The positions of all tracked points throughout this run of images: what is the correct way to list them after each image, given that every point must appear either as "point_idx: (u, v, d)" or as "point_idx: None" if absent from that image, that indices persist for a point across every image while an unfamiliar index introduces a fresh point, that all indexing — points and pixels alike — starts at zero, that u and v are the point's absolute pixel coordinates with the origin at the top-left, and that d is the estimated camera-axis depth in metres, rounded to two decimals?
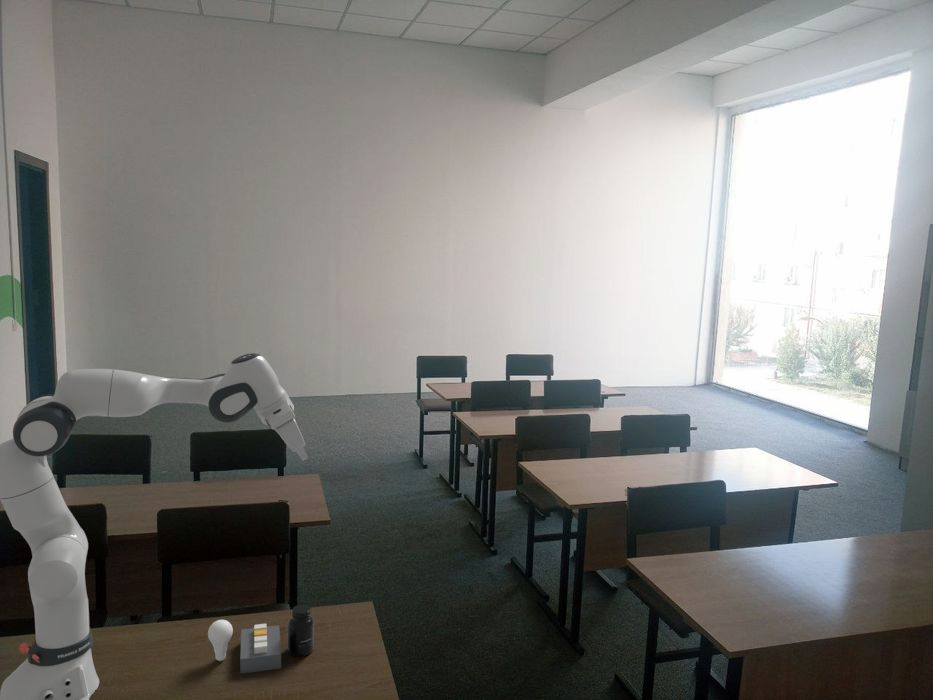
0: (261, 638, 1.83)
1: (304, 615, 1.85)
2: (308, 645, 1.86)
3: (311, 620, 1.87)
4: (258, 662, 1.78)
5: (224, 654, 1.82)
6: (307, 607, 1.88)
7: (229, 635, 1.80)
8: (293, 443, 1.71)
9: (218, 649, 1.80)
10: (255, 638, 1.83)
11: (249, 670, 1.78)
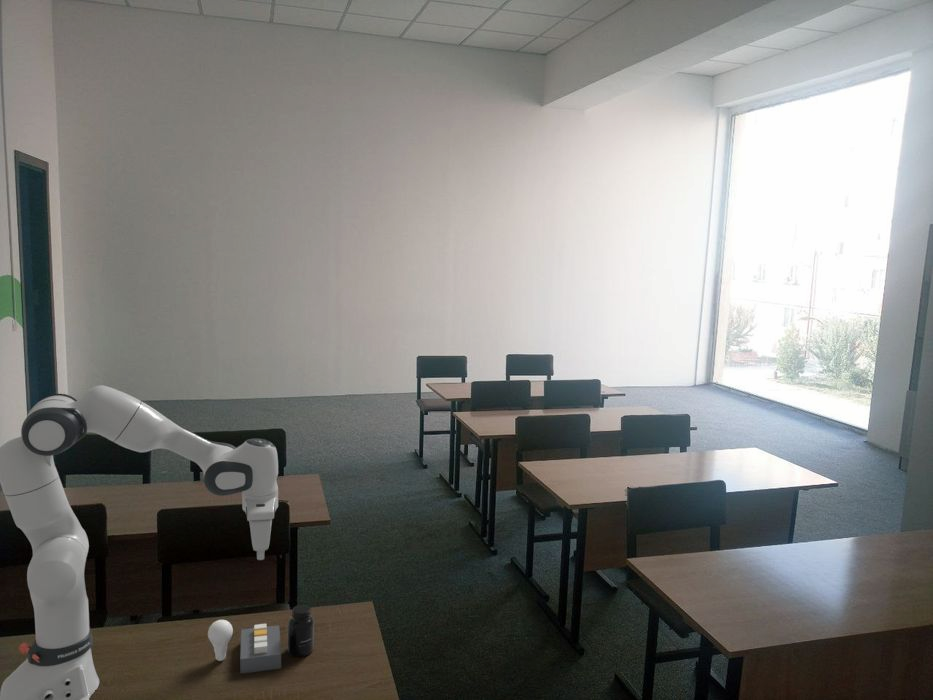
0: (261, 638, 1.83)
1: (304, 615, 1.85)
2: (308, 645, 1.86)
3: (311, 620, 1.87)
4: (258, 662, 1.78)
5: (224, 654, 1.82)
6: (307, 607, 1.88)
7: (229, 635, 1.80)
8: (258, 543, 1.70)
9: (218, 649, 1.80)
10: (255, 638, 1.83)
11: (249, 670, 1.78)
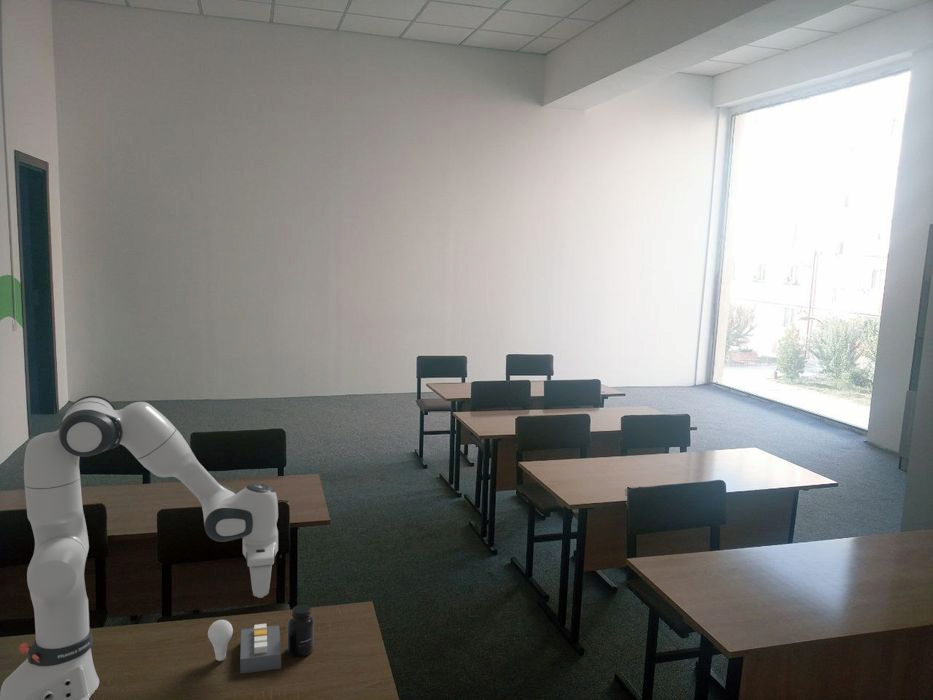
0: (261, 638, 1.83)
1: (304, 615, 1.85)
2: (308, 645, 1.86)
3: (311, 620, 1.87)
4: (258, 662, 1.78)
5: (224, 654, 1.82)
6: (307, 607, 1.88)
7: (229, 635, 1.80)
8: (258, 588, 1.72)
9: (218, 649, 1.80)
10: (255, 638, 1.83)
11: (249, 670, 1.78)
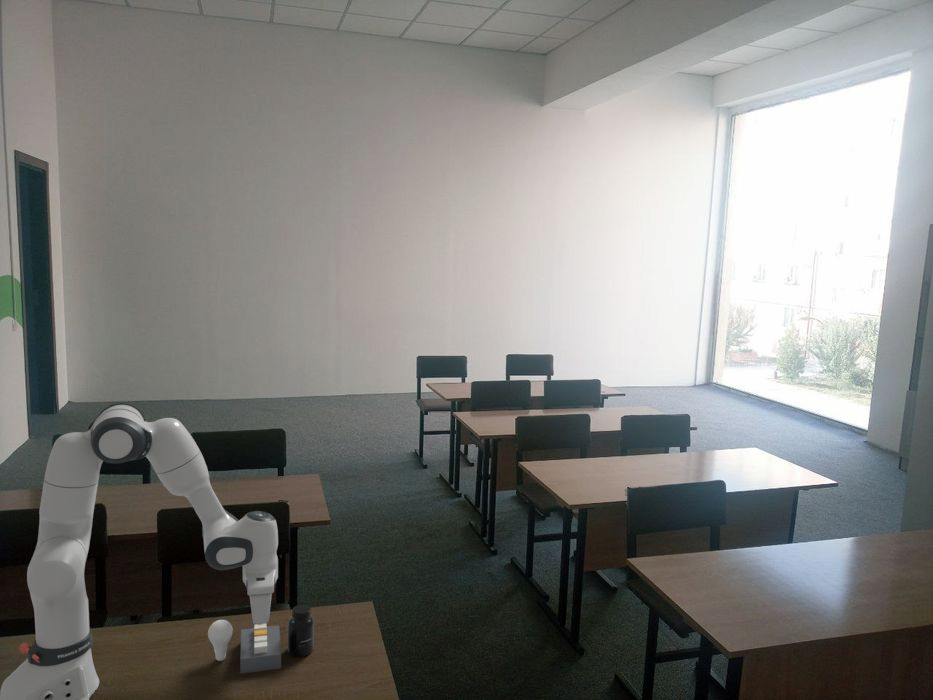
0: (261, 638, 1.83)
1: (304, 615, 1.85)
2: (308, 645, 1.86)
3: (311, 620, 1.87)
4: (258, 662, 1.78)
5: (224, 654, 1.82)
6: (307, 607, 1.88)
7: (229, 635, 1.80)
8: (258, 617, 1.73)
9: (218, 649, 1.80)
10: (255, 638, 1.83)
11: (249, 670, 1.78)
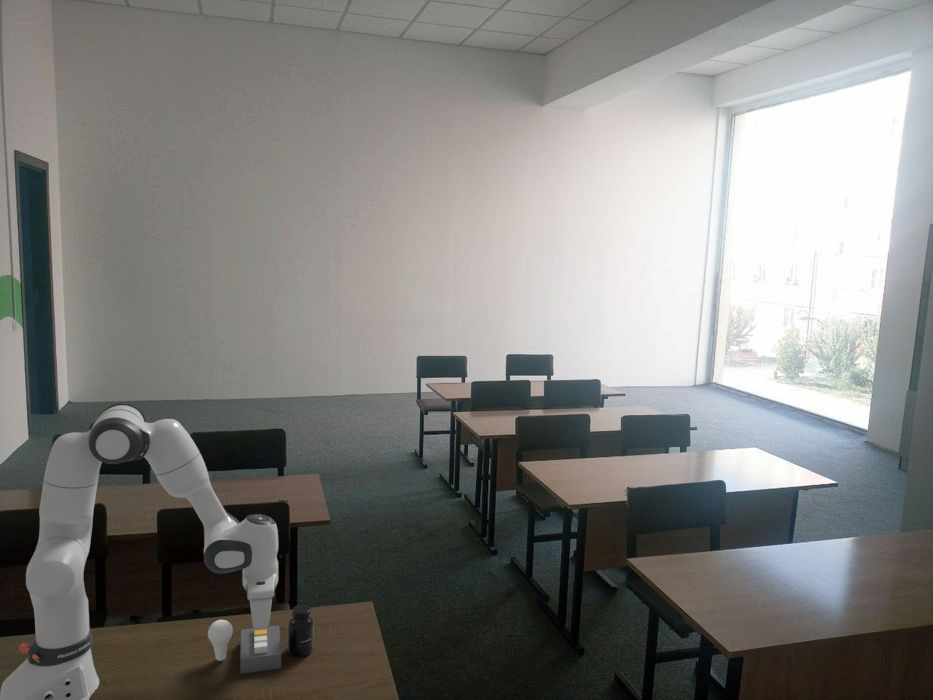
0: (261, 638, 1.83)
1: (304, 615, 1.85)
2: (308, 645, 1.86)
3: (311, 620, 1.87)
4: (258, 662, 1.78)
5: (224, 654, 1.82)
6: (307, 607, 1.88)
7: (229, 635, 1.80)
8: (258, 622, 1.71)
9: (218, 649, 1.80)
10: (255, 638, 1.83)
11: (249, 670, 1.78)
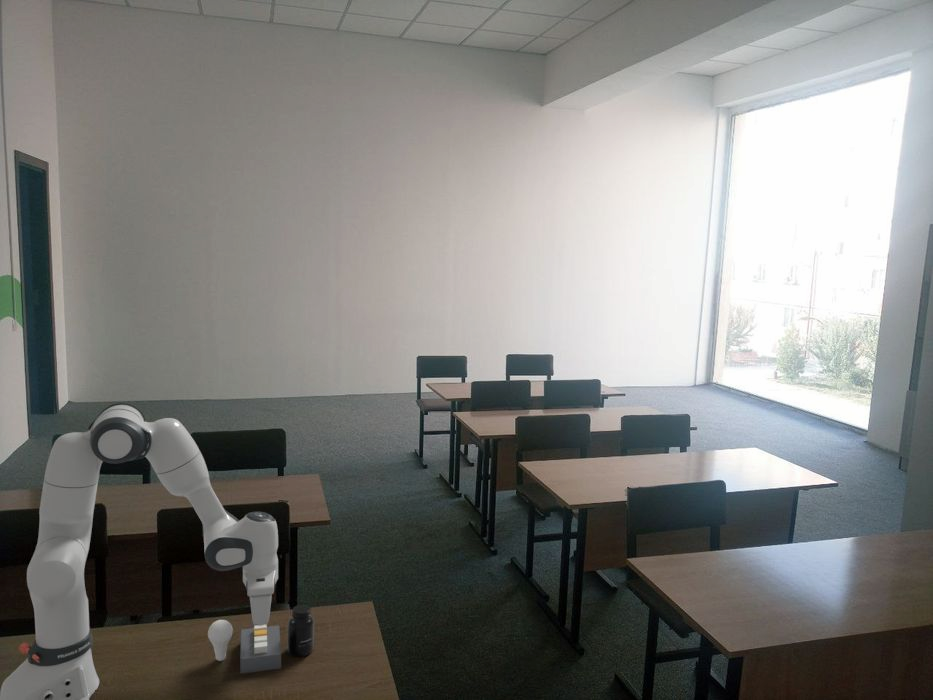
0: (261, 638, 1.83)
1: (304, 615, 1.85)
2: (308, 645, 1.86)
3: (311, 620, 1.87)
4: (258, 662, 1.78)
5: (224, 654, 1.82)
6: (307, 607, 1.88)
7: (229, 635, 1.80)
8: (258, 618, 1.73)
9: (218, 649, 1.80)
10: (255, 638, 1.83)
11: (249, 670, 1.78)
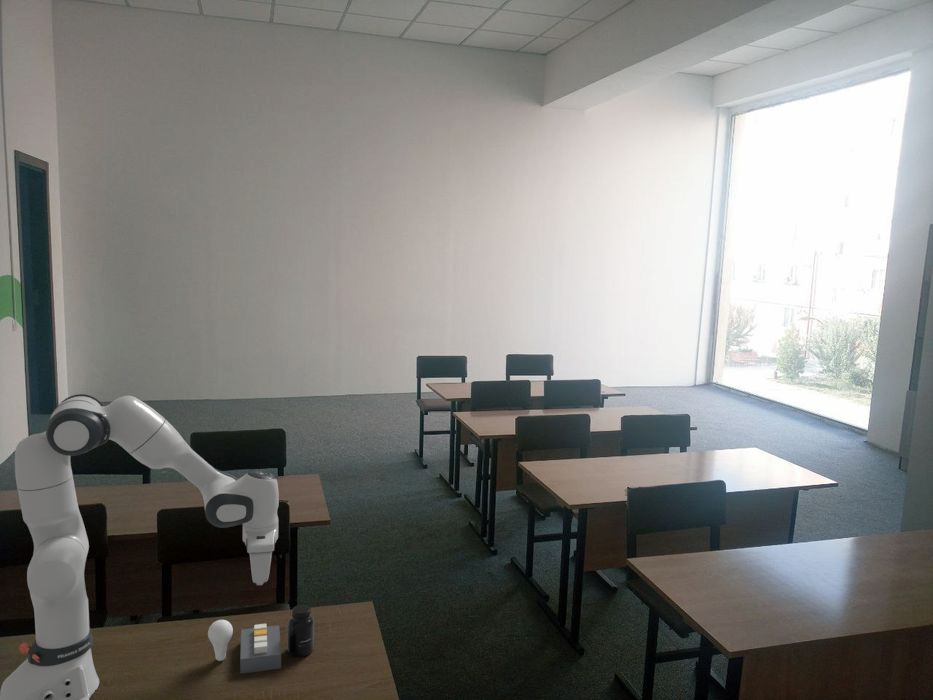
0: (261, 638, 1.83)
1: (304, 615, 1.85)
2: (308, 645, 1.86)
3: (311, 620, 1.87)
4: (258, 662, 1.78)
5: (224, 654, 1.82)
6: (307, 607, 1.88)
7: (229, 635, 1.80)
8: (258, 575, 1.72)
9: (218, 649, 1.80)
10: (255, 638, 1.83)
11: (249, 670, 1.78)
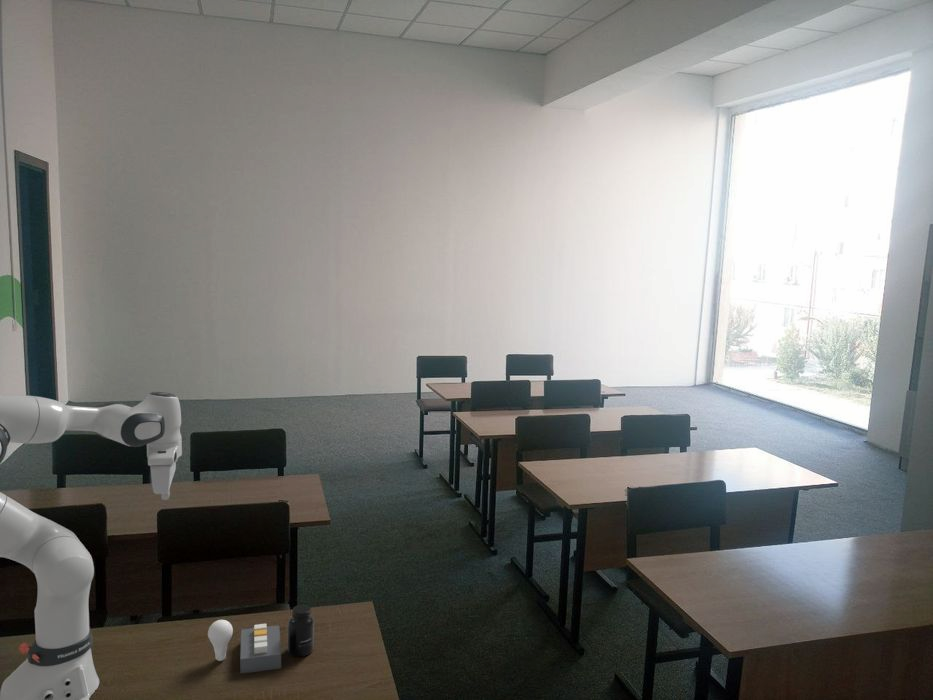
0: (261, 638, 1.83)
1: (304, 615, 1.85)
2: (308, 645, 1.86)
3: (311, 620, 1.87)
4: (258, 662, 1.78)
5: (224, 654, 1.82)
6: (307, 607, 1.88)
7: (229, 635, 1.80)
8: (158, 486, 1.83)
9: (218, 649, 1.80)
10: (255, 638, 1.83)
11: (249, 670, 1.78)
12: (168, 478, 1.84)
